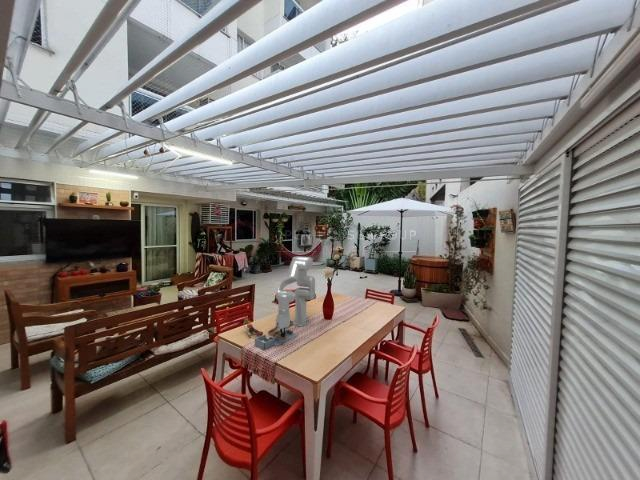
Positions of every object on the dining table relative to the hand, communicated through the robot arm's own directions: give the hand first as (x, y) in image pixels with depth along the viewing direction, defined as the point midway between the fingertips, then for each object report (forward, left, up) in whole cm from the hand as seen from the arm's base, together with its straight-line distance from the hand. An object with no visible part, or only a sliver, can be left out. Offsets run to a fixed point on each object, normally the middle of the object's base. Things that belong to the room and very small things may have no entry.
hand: (282, 336), depth 177 cm
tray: (+8, -10, -7) cm, 15 cm away
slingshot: (+4, -31, -7) cm, 32 cm away
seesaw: (-8, -6, 0) cm, 10 cm away
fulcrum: (-8, -9, -7) cm, 14 cm away
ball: (+10, -10, -5) cm, 15 cm away
